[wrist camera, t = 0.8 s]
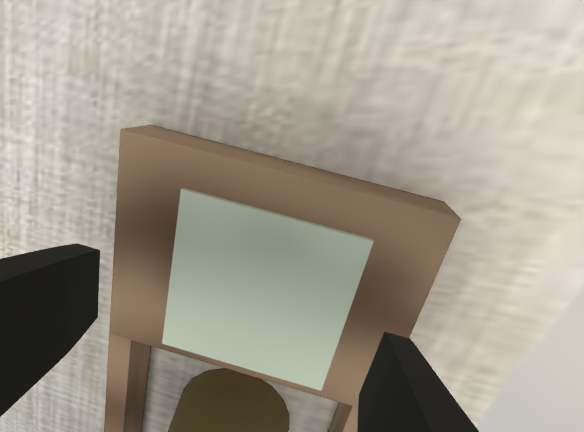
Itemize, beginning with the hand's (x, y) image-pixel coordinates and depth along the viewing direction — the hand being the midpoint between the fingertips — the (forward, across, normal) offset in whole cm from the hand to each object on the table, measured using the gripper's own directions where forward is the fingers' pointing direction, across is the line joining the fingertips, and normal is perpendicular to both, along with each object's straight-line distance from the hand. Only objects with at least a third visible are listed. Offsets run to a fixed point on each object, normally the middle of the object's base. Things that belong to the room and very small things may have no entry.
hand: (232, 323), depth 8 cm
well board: (+6, 0, +7) cm, 9 cm away
